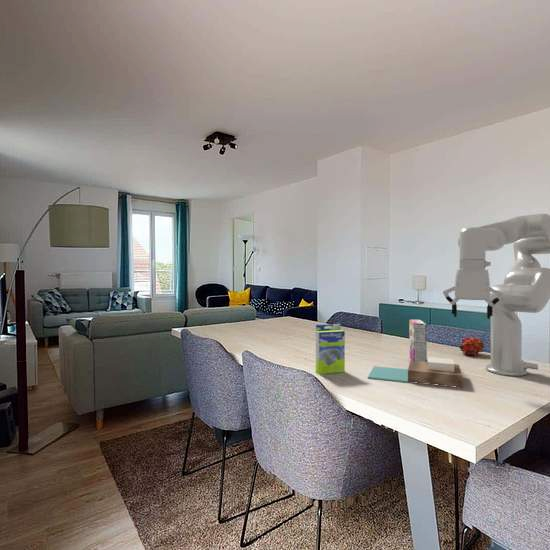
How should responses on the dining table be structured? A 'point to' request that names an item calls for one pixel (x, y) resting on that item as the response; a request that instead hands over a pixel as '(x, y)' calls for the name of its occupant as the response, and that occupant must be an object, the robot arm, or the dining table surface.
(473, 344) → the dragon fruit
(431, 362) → the tile
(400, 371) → the mat
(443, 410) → the dining table surface
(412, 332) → the candy bar box
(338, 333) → the box
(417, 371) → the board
